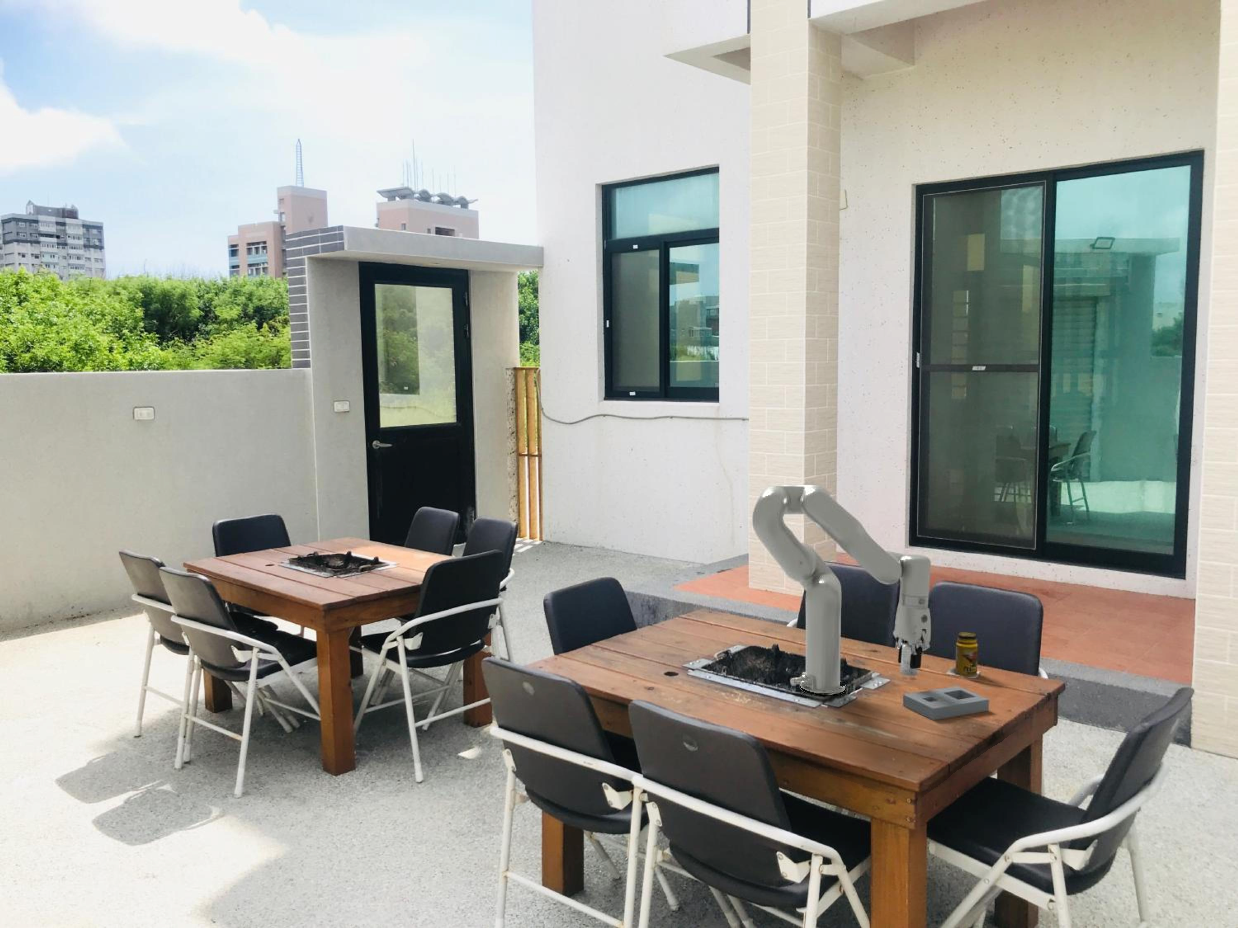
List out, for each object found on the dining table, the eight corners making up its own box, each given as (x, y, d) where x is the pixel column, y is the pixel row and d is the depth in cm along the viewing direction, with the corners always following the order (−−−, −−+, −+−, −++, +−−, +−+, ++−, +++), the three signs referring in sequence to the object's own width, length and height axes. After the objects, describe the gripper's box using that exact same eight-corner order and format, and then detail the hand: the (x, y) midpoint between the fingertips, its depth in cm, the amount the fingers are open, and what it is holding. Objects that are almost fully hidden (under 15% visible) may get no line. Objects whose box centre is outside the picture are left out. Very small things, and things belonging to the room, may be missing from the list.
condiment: (976, 678, 281) (977, 638, 280) (945, 674, 285) (946, 634, 284) (980, 672, 287) (981, 632, 286) (950, 667, 291) (951, 628, 290)
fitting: (907, 676, 264) (909, 647, 263) (897, 671, 268) (898, 643, 267) (920, 674, 266) (922, 646, 265) (910, 669, 270) (912, 641, 269)
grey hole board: (933, 719, 248) (933, 708, 247) (903, 705, 259) (903, 694, 258) (988, 710, 254) (989, 699, 254) (957, 696, 265) (957, 685, 265)
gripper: (945, 607, 258) (940, 673, 260) (905, 592, 274) (900, 655, 276) (922, 608, 256) (918, 675, 257) (883, 593, 271) (879, 657, 273)
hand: (909, 664), depth 267 cm, fingers closed on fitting, 4 cm apart
